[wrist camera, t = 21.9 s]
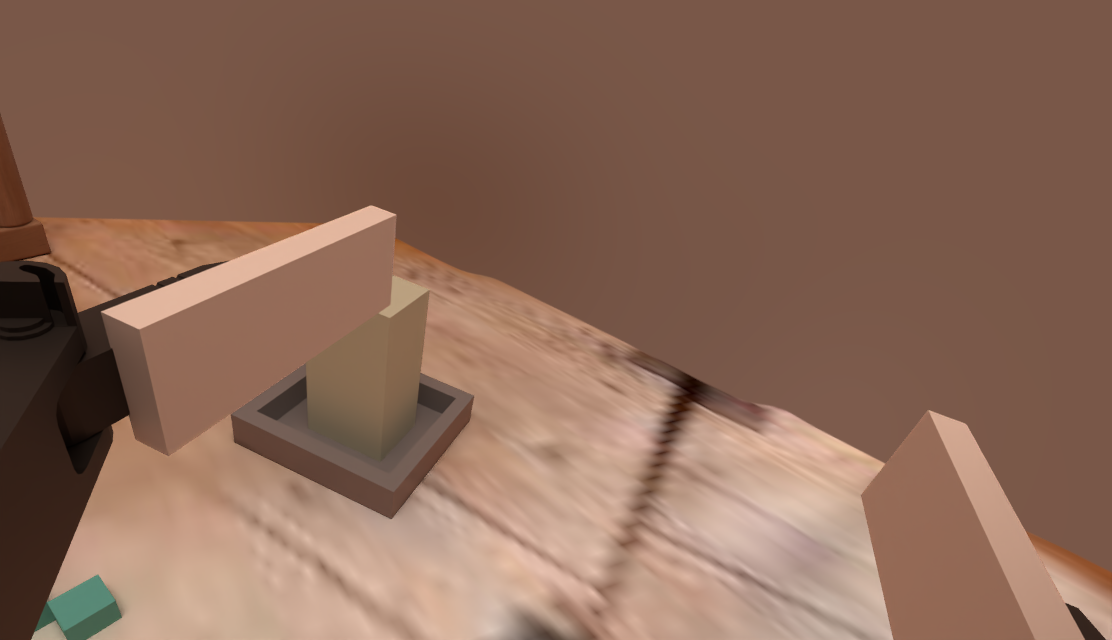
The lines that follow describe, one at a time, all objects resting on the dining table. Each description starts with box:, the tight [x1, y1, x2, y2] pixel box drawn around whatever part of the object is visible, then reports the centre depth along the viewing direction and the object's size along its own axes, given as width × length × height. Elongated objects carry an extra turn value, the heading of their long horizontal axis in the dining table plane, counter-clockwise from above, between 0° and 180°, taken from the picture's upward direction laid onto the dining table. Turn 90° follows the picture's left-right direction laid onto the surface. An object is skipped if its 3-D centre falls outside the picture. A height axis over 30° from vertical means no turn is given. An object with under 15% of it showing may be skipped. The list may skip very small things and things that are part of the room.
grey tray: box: [231, 363, 474, 519], centre depth 44 cm, size 14×12×3 cm
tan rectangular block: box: [306, 275, 430, 462], centre depth 41 cm, size 7×5×14 cm
